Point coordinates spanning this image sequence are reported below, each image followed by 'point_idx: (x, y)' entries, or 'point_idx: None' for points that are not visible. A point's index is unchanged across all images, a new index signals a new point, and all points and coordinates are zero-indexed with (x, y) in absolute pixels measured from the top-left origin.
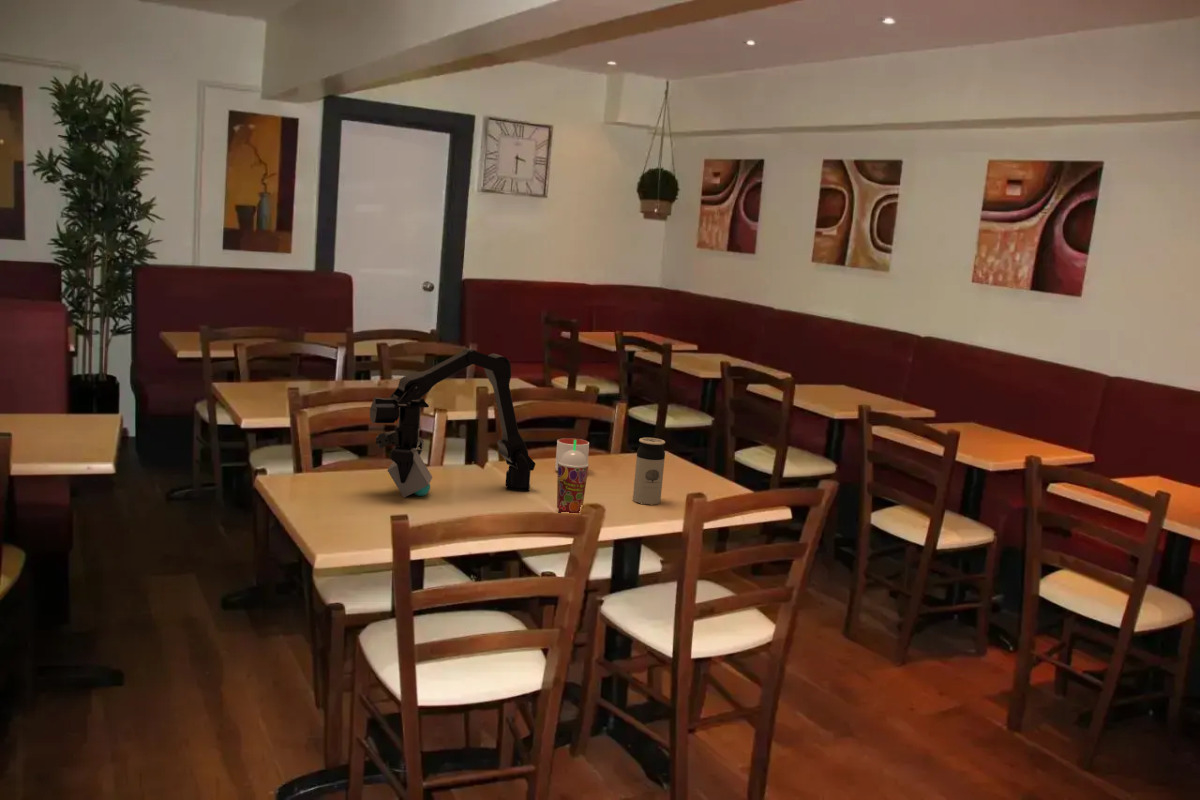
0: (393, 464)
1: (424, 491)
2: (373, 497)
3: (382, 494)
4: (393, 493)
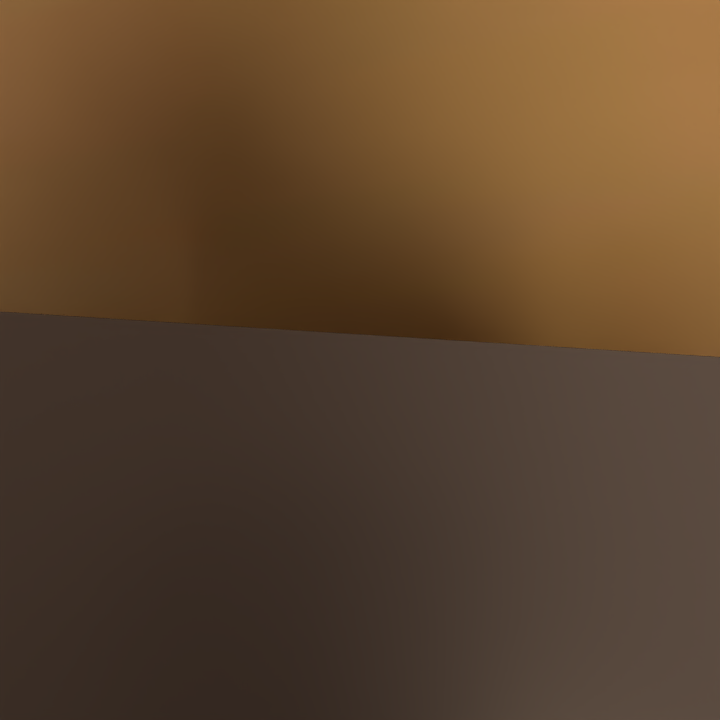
0: (95, 524)
1: None
2: (86, 83)
3: (269, 181)
4: (358, 320)
